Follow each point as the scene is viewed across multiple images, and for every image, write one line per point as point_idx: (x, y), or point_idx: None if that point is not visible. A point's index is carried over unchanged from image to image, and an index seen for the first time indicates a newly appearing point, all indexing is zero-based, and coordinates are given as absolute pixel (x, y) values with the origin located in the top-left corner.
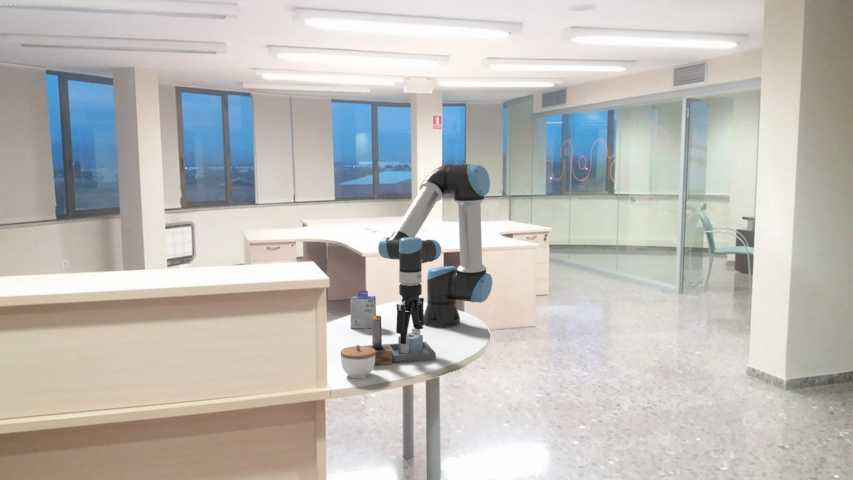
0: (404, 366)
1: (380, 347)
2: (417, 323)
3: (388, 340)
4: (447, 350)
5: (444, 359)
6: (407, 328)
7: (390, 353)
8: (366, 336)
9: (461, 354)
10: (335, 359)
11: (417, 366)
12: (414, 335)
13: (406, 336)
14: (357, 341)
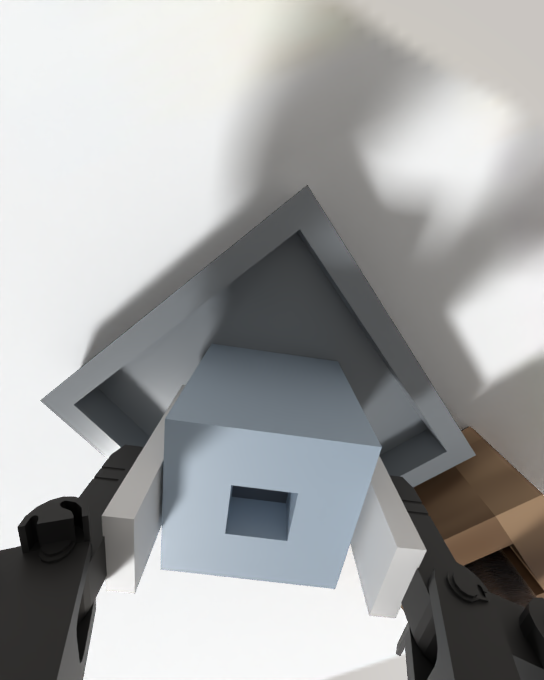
0: (495, 346)
1: (516, 580)
2: (69, 660)
3: None
4: (14, 206)
5: (250, 128)
6: (472, 669)
7: (529, 484)
8: None
9: (36, 18)
10: None
11: (481, 267)
12: (222, 491)
13: (410, 535)
14: (166, 668)
